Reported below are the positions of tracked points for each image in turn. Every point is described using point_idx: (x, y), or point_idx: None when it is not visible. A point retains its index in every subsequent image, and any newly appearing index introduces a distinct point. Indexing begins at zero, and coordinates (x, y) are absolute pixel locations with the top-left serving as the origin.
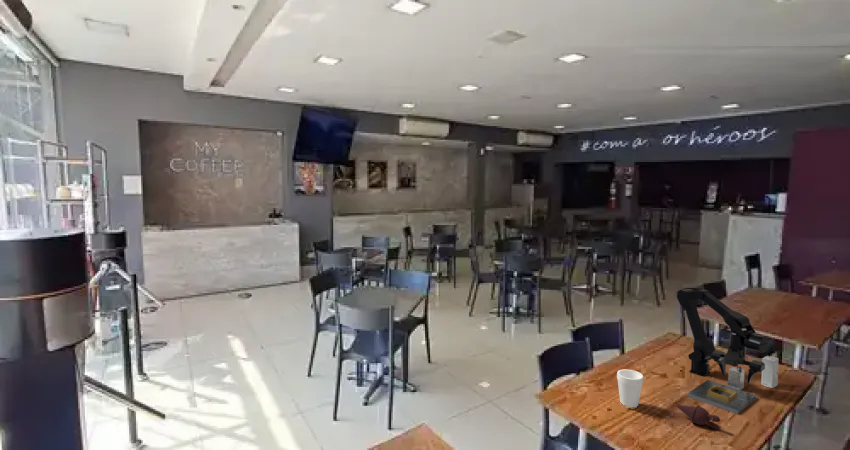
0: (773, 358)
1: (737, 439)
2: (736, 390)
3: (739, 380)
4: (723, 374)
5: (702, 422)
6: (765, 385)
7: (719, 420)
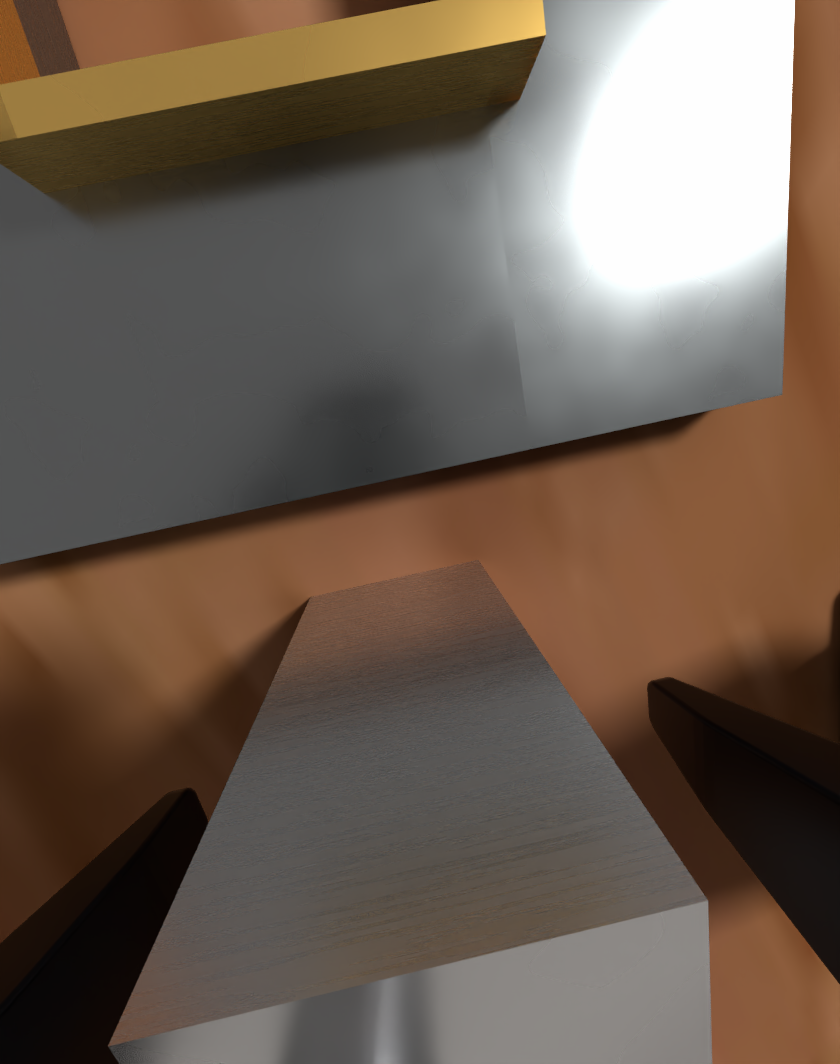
0: None
1: None
2: (223, 428)
3: (274, 709)
4: (682, 695)
5: None
6: None
7: None
